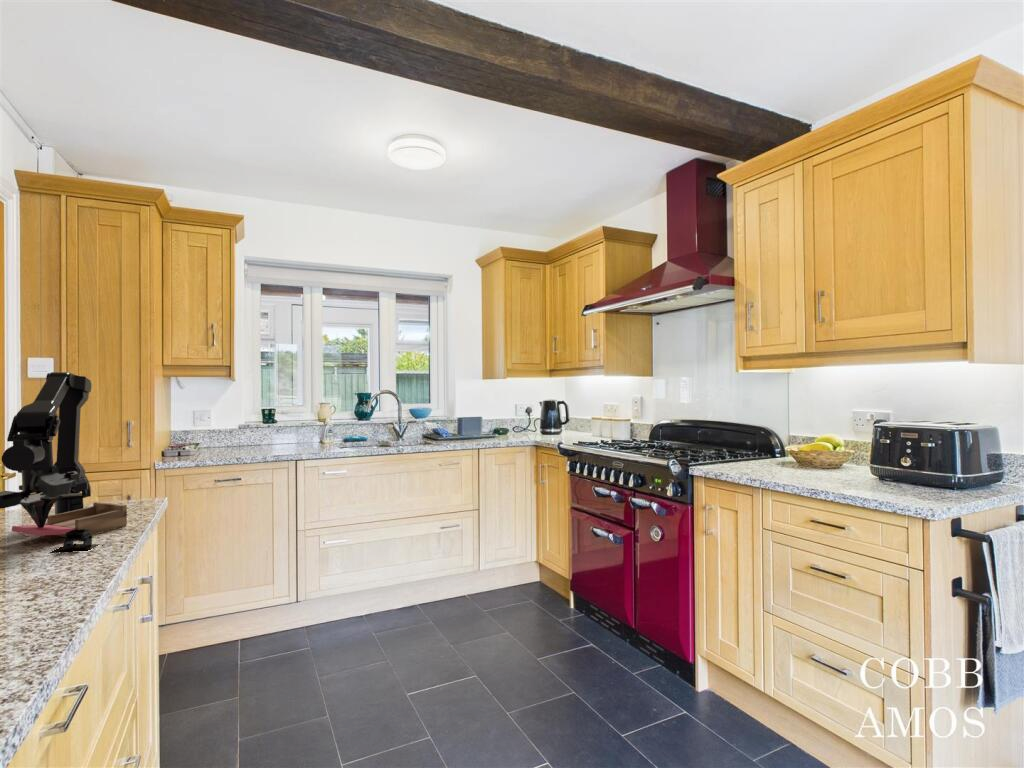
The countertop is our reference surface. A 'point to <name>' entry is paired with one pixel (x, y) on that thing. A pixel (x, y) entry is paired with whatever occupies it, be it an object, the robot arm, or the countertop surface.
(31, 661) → the countertop surface
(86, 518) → the brown wooden drawer
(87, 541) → the black boxy piece
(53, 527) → the panel
